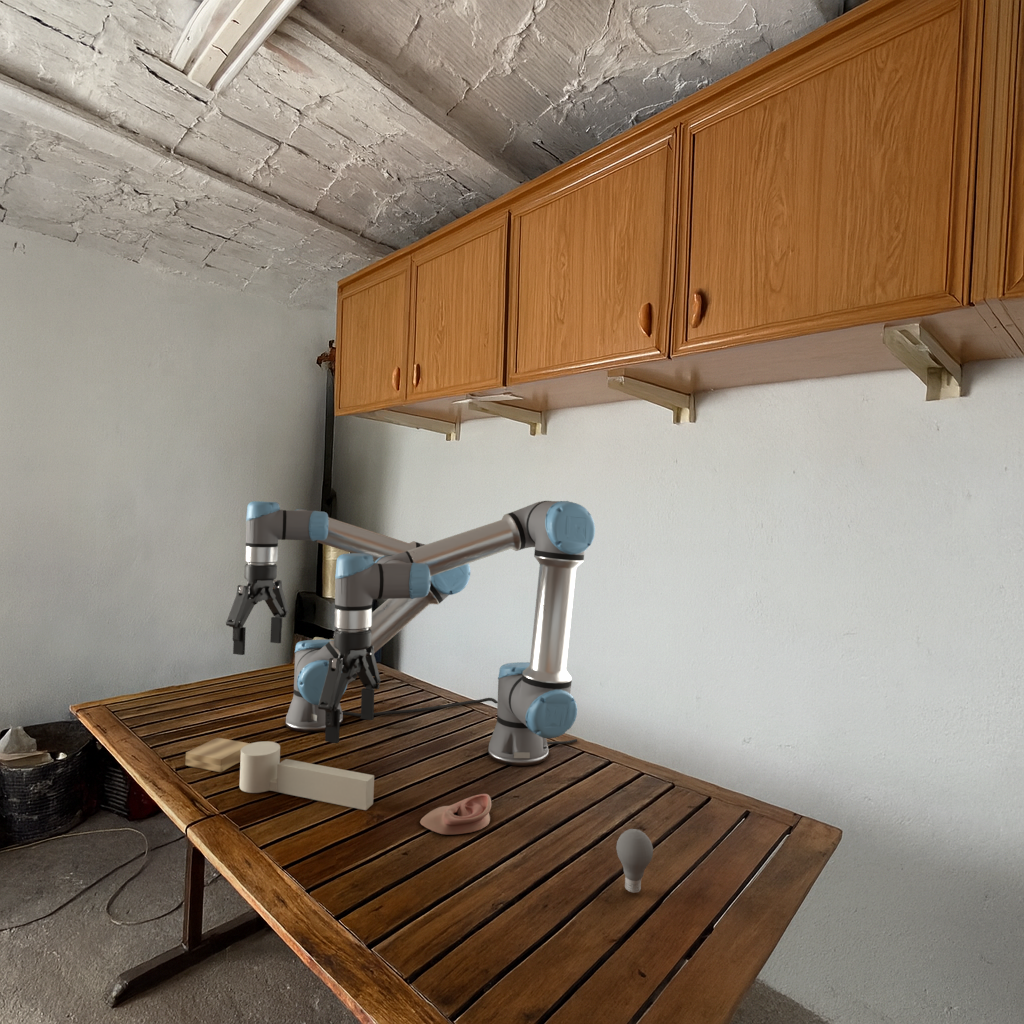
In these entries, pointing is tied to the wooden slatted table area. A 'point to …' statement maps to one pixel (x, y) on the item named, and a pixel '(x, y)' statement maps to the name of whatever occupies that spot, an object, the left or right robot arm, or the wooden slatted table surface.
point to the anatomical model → (460, 816)
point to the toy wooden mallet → (302, 778)
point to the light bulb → (634, 857)
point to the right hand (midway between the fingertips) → (350, 730)
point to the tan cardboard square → (215, 754)
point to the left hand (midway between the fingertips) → (258, 648)
